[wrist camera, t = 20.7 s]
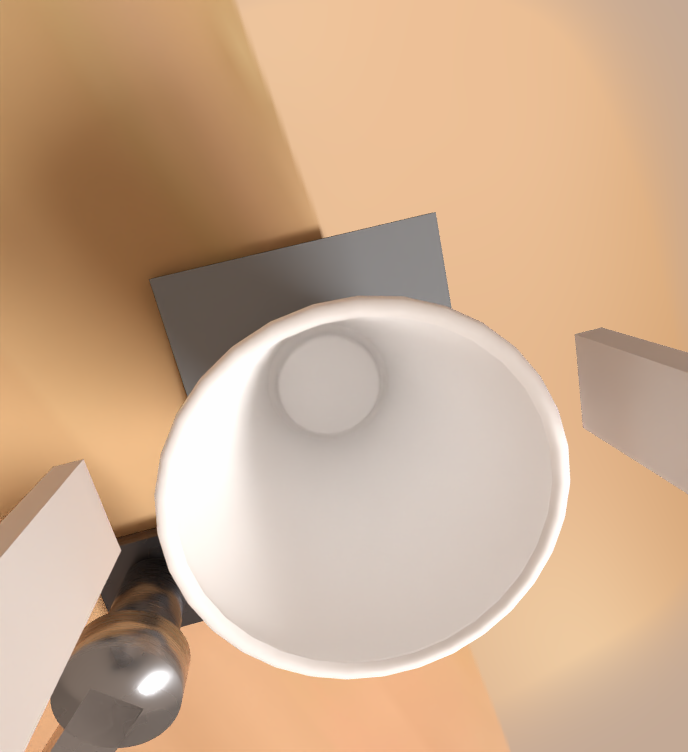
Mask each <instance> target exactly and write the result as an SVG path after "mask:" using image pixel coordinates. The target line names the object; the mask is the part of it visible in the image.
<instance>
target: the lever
mask: <svg viewBox="0 0 688 752" xmlns="http://www.w3.org/2000/svg"><path fill="white" fill-rule="evenodd" d="M189 664H190V649H189V645H188V642H187V640H186V638H185V636H184V635H183V633H182V632H181V631H180V630H179V629H178V627H176V626H175V625H174V624H173V623H172V622H170V621H169V620H167V619H165V618H163V617H161V616H159V615H157V614H154V613H150V612H146V611H140V610H123V611H117V612H112V613H109V614H106V615H103V616H101V617H99V618H97V619H95V620H94V621H92V622H91V623H89V624H88V625H87V626H86V627H85V628H84V629H83V631H82V633H81V635H80V637H79V639H78V641H77V643H76V645H75V648H74V650H73V652H72V654H71V656H70V658H69V660H68V662H67V664H66V666H65V668H64V670H63V672H62V675H61V677H60V679H59V681H58V683H57V685H56V687H55V689H54V691H53V693H52V695H51V707H52V711H53V713H54V716H55V718H56V719H57V721H58V723H59V726H58V727H57V729H56V730H55V732H54V733H53V735H52V737H51V738H50V740H49V741H48V743H47V744H46V746H45V748H44V749H43V751H42V752H115V751H116V750H117V748H124V747H131V746H135V745H139V744H142V743H145V742H147V741H149V740H152V739H153V738H155V737H157V736H159V735H160V734H161V733H163V732H164V731H165V730H166V729H167V728H168V727H169V726H170V725H171V724H172V723H173V721H174V720H175V718H176V716H177V715H178V712H179V710H180V707H181V702H182V698H183V693H184V688H185V683H186V679H187V674H188V669H189Z"/></svg>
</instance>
